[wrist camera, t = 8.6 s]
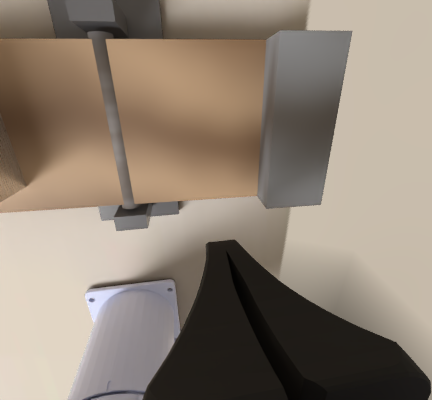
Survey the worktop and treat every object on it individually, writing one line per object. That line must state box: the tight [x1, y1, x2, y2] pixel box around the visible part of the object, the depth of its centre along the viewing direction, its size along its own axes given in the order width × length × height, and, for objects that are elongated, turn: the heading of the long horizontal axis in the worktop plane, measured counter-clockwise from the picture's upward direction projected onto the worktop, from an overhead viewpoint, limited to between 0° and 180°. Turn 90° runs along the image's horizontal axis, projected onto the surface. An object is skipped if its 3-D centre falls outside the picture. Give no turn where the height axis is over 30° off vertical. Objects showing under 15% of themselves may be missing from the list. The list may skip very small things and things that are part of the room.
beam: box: [0, 30, 352, 213], centre depth 13 cm, size 10×26×3 cm, turn 91°
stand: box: [47, 0, 179, 231], centre depth 15 cm, size 14×6×4 cm, turn 1°
